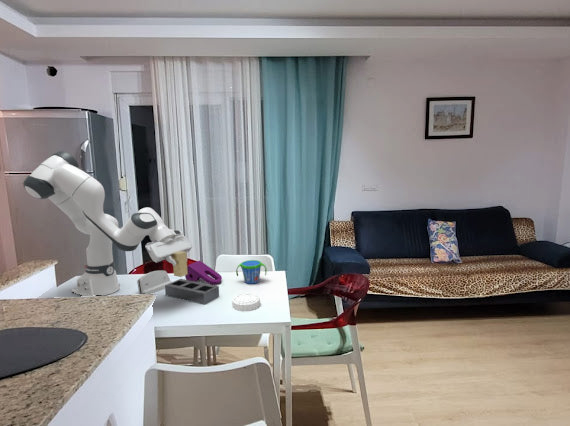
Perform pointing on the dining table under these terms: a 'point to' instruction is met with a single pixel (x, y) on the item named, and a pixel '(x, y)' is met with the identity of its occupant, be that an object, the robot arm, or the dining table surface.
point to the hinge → (153, 282)
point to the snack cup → (251, 271)
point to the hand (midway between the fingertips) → (181, 263)
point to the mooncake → (246, 302)
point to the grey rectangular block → (192, 291)
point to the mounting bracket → (202, 273)
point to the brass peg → (180, 263)
